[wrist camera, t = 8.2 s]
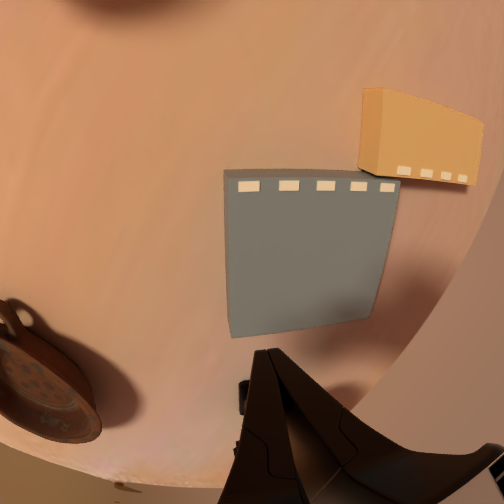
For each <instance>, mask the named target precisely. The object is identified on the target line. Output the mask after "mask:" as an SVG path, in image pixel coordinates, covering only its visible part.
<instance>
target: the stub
mask: <svg viewBox="0 0 504 504" xmlns="http://www.w3.org/2000/svg"><path fill="white" fill-rule="evenodd" d="M483 127H484V122H482V121H480V120H477V119H475V118H473V117H470V116H468V115H466V114H463V113H461V112H458V111H455V110H453V109H450V108H448V107H445V106H442V105H439V104H436V103H433V102H431V101H428V100H424V99H421V98H418V97H415V96H412V95H408V94H405V93H401V92H398V91H394V90H390V89H386V88H363V110H362V126H361V140H360V152H359V162H358V168H361V169H363V170H365V171H368V172H370V173H372V174H375V175H379V176H393V177H405V178H415V179H425V180H434V181H443V182H451V183H458V184H465V185H472V186H476V181H477V175H478V169H479V162H480V155H481V147H482V138H483Z"/></svg>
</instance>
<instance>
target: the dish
mask: <svg viewBox="0 0 504 504" xmlns="http://www.w3.org/2000/svg"><path fill="white" fill-rule="evenodd" d="M0 318H1V319H2V320H3V321H4V322H5V324H2V323H0V414H1V415H2V416H4V417H5V418H6V419H8V420H9V421H11V422H12V423H14V424H15V425H17V426H19V427H21V428H23V429H25V430H27V431H29V432H31V433H33V434H36V435H38V436H40V437H43V438H45V439H48V440H51V441H55V442H60V443H71V444H79V443H86V442H91V441H93V440H95V439H96V438H97V437H98V436H99V435H100V433H101V432H102V423H101V420H100V417H99V416H98V414H97V412H96V408H95V403H94V398H93V395H92V391H91V388H90V385H89V383H88V381H87V379H86V378H85V376H84V375H83V373H82V372H81V371H80V370H79V368H78V367H77V366H76V365H75V364H74V363H73V362H71V361H70V360H69V359H68V358H67V357H66V356H64V355H63V354H62V353H61V352H59V351H58V350H57V349H56V348H54V347H53V346H51V345H50V344H48V343H47V342H45V341H44V340H42V339H40V338H39V337H37V336H35V335H34V334H32V333H30V332H28V331H27V330H26V329H25V328H24V326H23V324H22V322H21V321H20V319H19V317H18V316H17V314H16V312H15V311H14V310H13V309H12V308H11V306H10V305H9V304H7V303H6V302H5V301H3V300H0Z"/></svg>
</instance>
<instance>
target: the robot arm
mask: <svg viewBox="0 0 504 504" xmlns="http://www.w3.org/2000/svg"><path fill="white" fill-rule="evenodd" d="M239 412H240V415H244V418H243V424H242V429H241V435H240V440H239V441H236V448H234V449H233V451H234V456H235V459H234V462H233V465H232V468H231V470H230V473H229V476H228V478H227V481H226V484H225V486H224V489H223V491H222V494H221V496H220V499H219V501H218V503H217V504H504V454H503V455H502V456H501V457H500V458H499V459H498V460H496V459H497V458H498V457H499V456H500V455H501V454H502V453H503V452H504V447H503V446H501V445H499V444H494V443H486V444H485V445H483V446H482V447H481V448H480V449H478V450H477V451H475V452H473V453H471V454H466V455H450V454H449V455H448V454H435V453H424V452H415V451H411V450H408V449H406V448H403V447H402V446H400V445H398V444H396V443H394V442H393V441H391V440H390V439H388V438H387V437H385V436H383V435H382V434H380V433H379V432H377V431H375V430H374V429H372V428H371V427H369V426H368V425H366V424H365V423H363V422H362V421H361V420H360V419H358V418H357V417H356V416H355V415H353V414H352V413H351V412H350V411H349V410H347V409H346V408H345V407H344V408H343V405H342V404H340V403H339V402H338V401H337V400H336V399H335V398H333V397H332V396H331V395H330V394H329V393H328V392H327V391H325V390H324V389H323V388H322V387H321V386H320V385H319V384H318V383H316V382H315V381H314V380H313V379H312V378H311V377H310V376H309V375H308V374H306V373H305V372H304V371H303V370H302V369H301V368H300V367H299V366H298V365H297V364H296V363H294V362H293V361H292V360H291V359H290V358H289V357H288V356H287V355H286V354H285V353H284V352H283V351H282V350H280V349H279V348H271V349H267V350H265V349H264V350H256V351H255V352H254V358H253V364H252V370H251V376H250V381H243V382H240V383H239ZM494 460H496V461H495V462H494V463H493V464H492V465H491V466H489V465H490V464H491V463H492V462H493V461H494ZM488 466H489V467H488Z"/></svg>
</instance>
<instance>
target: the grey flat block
mask: <svg viewBox="0 0 504 504" xmlns="http://www.w3.org/2000/svg"><path fill="white" fill-rule="evenodd" d="M400 184H401V181H399V180H397V179H395V178H392V177H390V176H379V175H375V174H372V173H370V172H361V171H343V170H315V169H242V170H224V222H225V261H226V291H227V316H228V323H229V328H230V333H231V338H240V337H249V336H258V335H266V334H274V333H281V332H289V331H295V330H302V329H309V328H315V327H321V326H327V325H333V324H338V323H344V322H349V321H354V320H360V319H365V318H369V317H370V314H371V311H372V307H373V304H374V301H375V297H376V294H377V290H378V287H379V283H380V279H381V275H382V272H383V268H384V264H385V260H386V255H387V251H388V247H389V242H390V238H391V233H392V228H393V223H394V218H395V213H396V208H397V202H398V196H399V190H400Z"/></svg>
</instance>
